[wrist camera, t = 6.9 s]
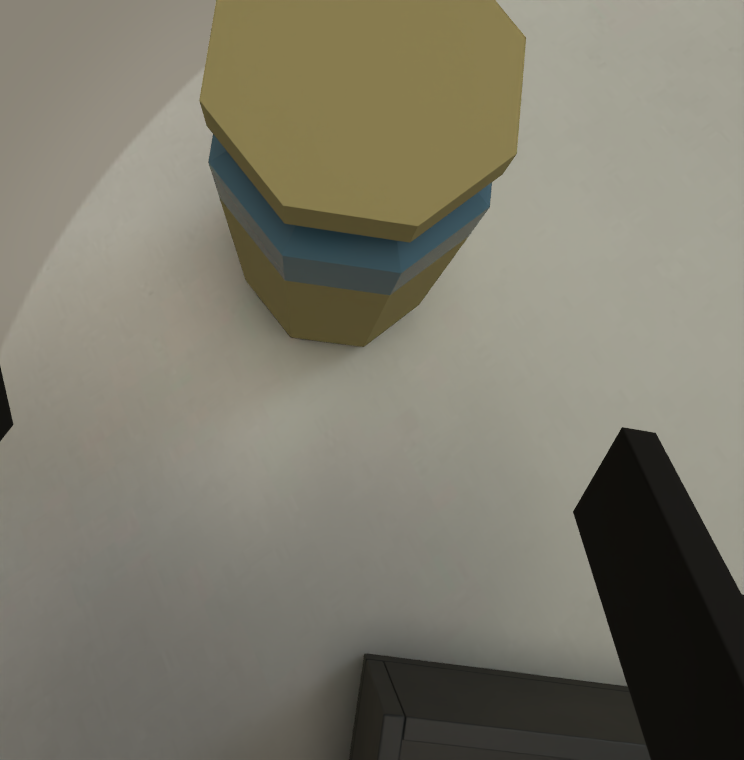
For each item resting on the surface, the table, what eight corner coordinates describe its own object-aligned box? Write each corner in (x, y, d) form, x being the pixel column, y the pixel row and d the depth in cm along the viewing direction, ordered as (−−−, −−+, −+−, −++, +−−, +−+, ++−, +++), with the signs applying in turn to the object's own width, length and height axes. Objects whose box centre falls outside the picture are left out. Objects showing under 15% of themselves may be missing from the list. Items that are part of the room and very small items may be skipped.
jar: (223, 198, 30) (144, -64, 15) (398, 160, 31) (483, -115, 16) (271, 373, 29) (236, 278, 14) (449, 326, 30) (588, 196, 15)
